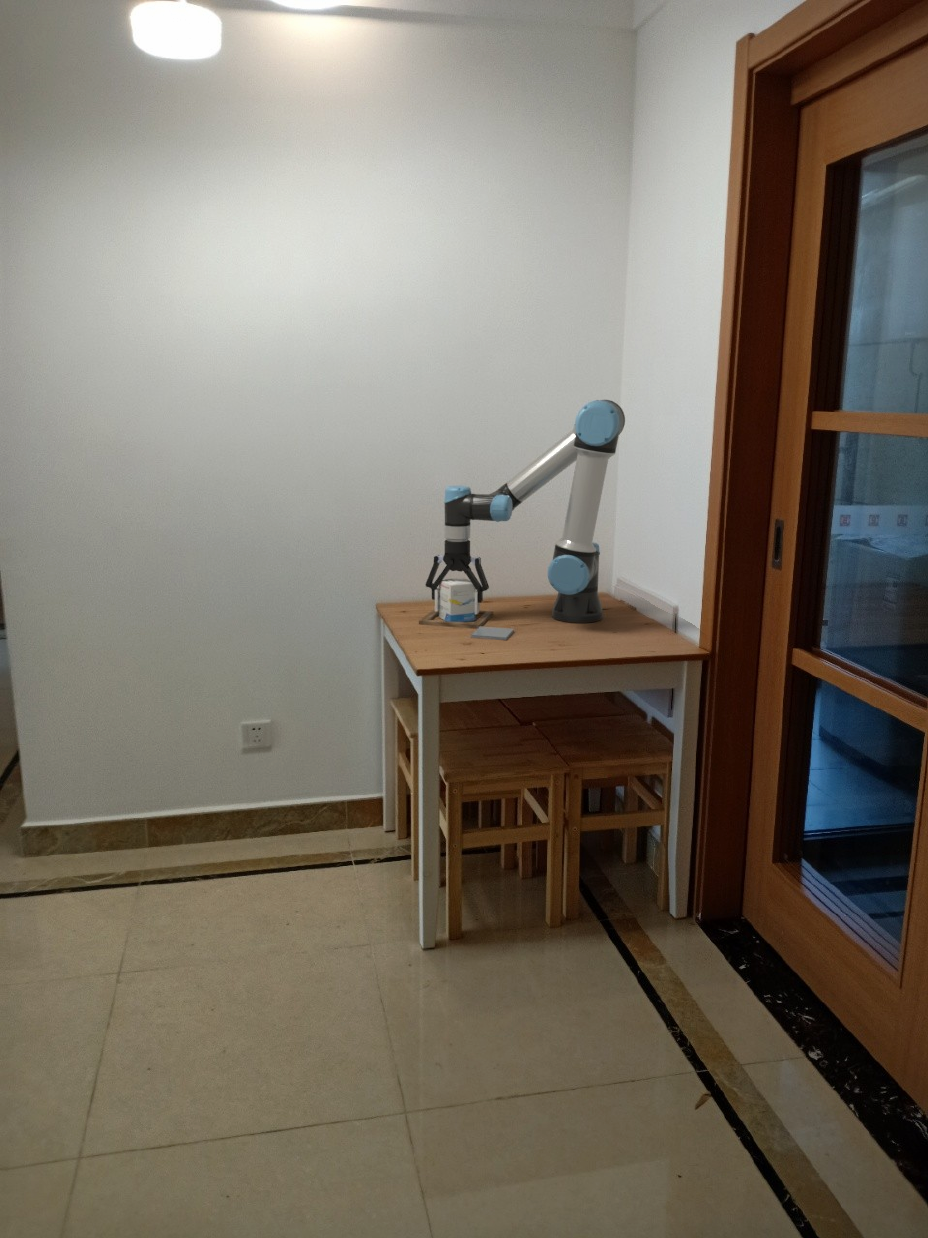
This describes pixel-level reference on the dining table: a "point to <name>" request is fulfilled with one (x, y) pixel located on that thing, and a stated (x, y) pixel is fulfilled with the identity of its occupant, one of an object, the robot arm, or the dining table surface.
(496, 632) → the coaster
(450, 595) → the ink box
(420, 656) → the dining table surface
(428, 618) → the pocket frame
